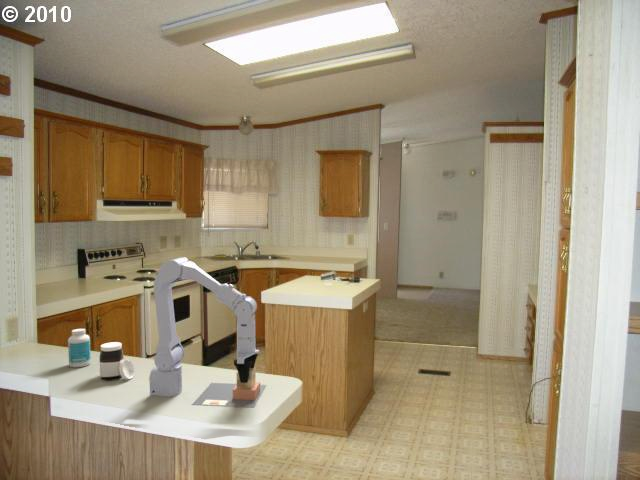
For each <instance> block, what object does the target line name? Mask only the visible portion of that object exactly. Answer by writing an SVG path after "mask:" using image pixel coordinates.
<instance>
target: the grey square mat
mask: <svg viewBox="0 0 640 480" xmlns="http://www.w3.org/2000/svg"><path fill="white" fill-rule="evenodd" d="M236 384H237V383H227V382H222V383H221V382H210V384H209V385H208V386H207V387H206V388H205V389H204V390H203V391H202V392H201V394H200V395H199V396H198V397H197V398H196V399H195V400H194V402H193V403H192V404H191V406H207V407H208V406H209V407H230V408H248V409H249V408H250V409H252V408H253V409H254V408H255V407H256V405H257V403H258V402H259V399H260V398H261V396H262V394H263V393H264V391H265V389H266V387H267V385H268V384H260V392H259V394H258V396H257V397H256V399H255V400H243V399H233V388H234V387H235V386H236Z"/></svg>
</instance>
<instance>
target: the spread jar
mask: <svg viewBox="0 0 640 480" xmlns="http://www.w3.org/2000/svg"><path fill="white" fill-rule="evenodd" d="M122 344H123V343H122V342H118V341H114V342H113V341H111V342H106V343H102V344H101V345H100V353H99V356H98V357H99V376H100V379H101V380H103V381H108V382H109V381H115V380H119V379H121V378H122V379H124V380H126V381H127V380H130V379H132V378H133V377H134V376H135V367H134V364H133V361H131V360H129V359H128V358H126V359H124V351H123V348H122V347H123V346H122Z"/></svg>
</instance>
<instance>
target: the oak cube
mask: <svg viewBox="0 0 640 480" xmlns="http://www.w3.org/2000/svg"><path fill="white" fill-rule="evenodd" d="M255 382H256V368H255V367H254V368H250V371H249V379H248V382H247V383H241V382H240V378H239V374H238V371H236V384H237V388H239V389H252V388H253V386H254V385H255Z"/></svg>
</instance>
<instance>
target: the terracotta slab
mask: <svg viewBox="0 0 640 480" xmlns="http://www.w3.org/2000/svg"><path fill="white" fill-rule="evenodd" d="M235 384H236V386H235V387H234V388H233V399H243V400H255V399H256V397H257V396H258V394H259V392H260V385H261V381H255V385H254V386H253V388H252V389H239V388H237V383H235Z"/></svg>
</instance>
